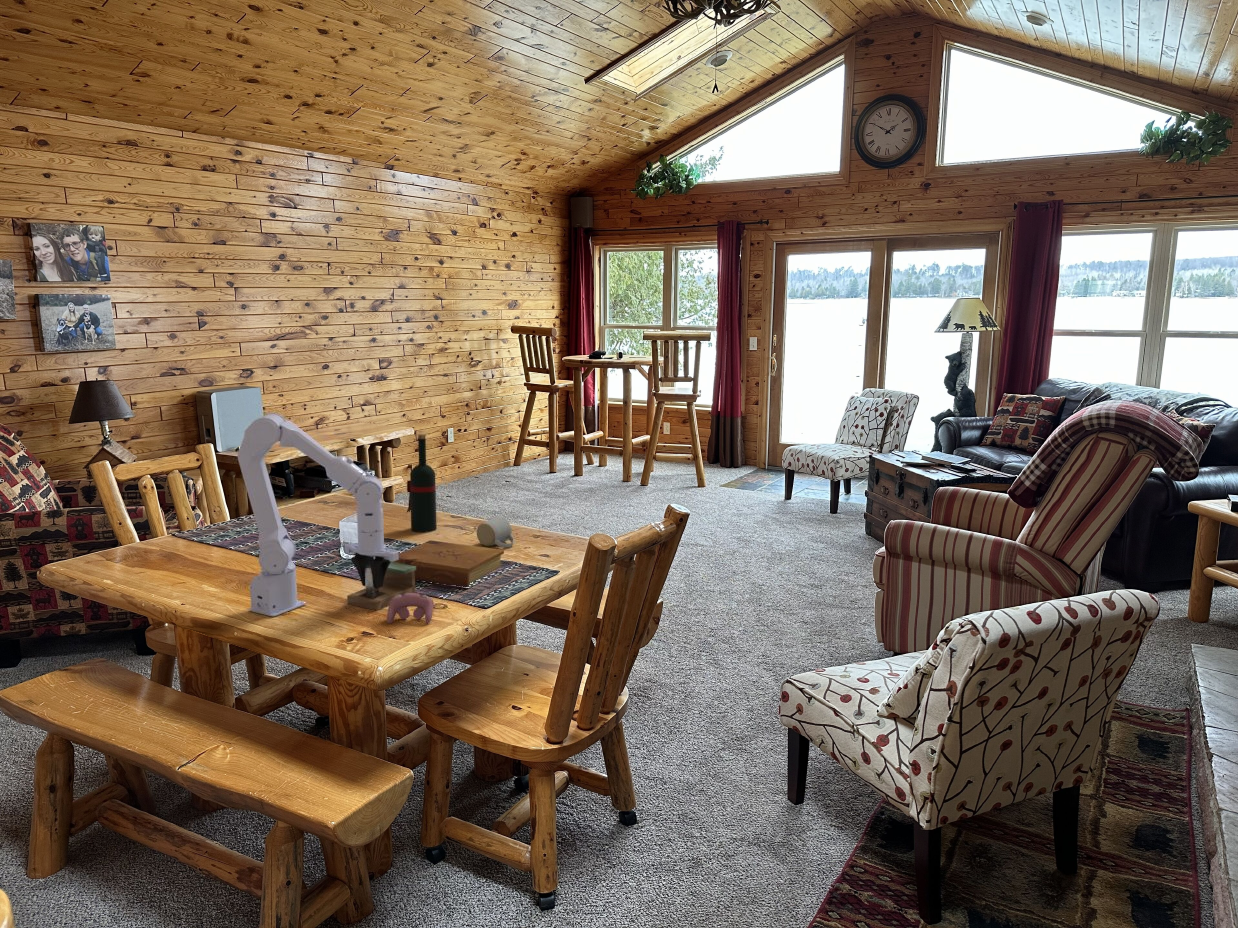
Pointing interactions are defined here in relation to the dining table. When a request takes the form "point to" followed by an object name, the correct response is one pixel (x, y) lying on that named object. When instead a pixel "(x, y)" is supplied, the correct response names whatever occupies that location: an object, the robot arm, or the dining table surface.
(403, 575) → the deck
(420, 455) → the wine bottle
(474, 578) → the diary
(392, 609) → the video game controller
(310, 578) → the dining table surface
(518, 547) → the dining table surface
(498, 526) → the ceramic mug
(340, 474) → the robot arm
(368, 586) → the peg
